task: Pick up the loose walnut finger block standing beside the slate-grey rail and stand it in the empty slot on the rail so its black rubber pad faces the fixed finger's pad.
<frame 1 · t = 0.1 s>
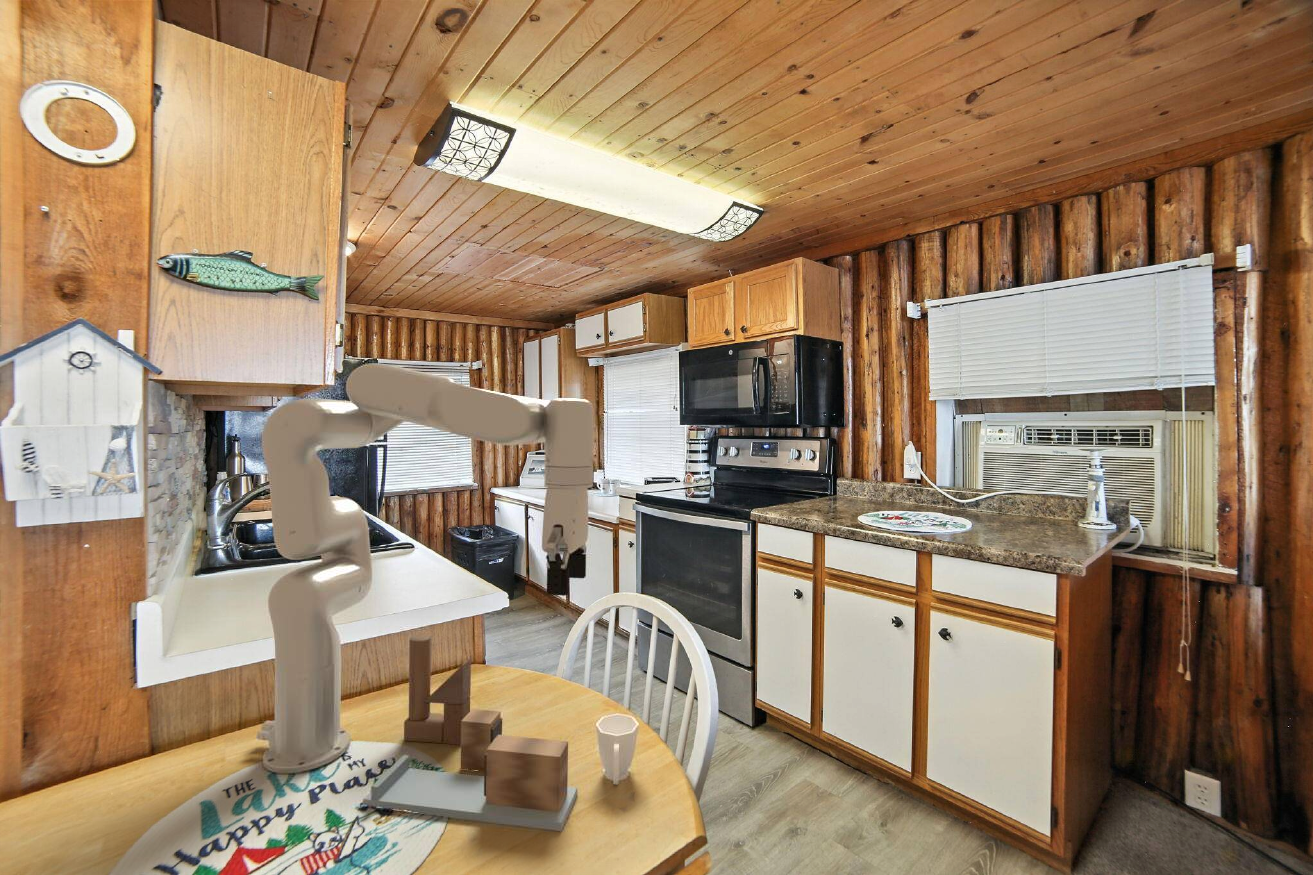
hand: (567, 585, 90), 31 cm above the table, tool pointing down, fingers open, 9 cm apart
finger block: (480, 763, 94), on the table
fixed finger: (527, 807, 84), resting on rail
rail: (472, 800, 85), on the table
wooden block: (437, 739, 102), on the table
cup: (616, 779, 91), on the table
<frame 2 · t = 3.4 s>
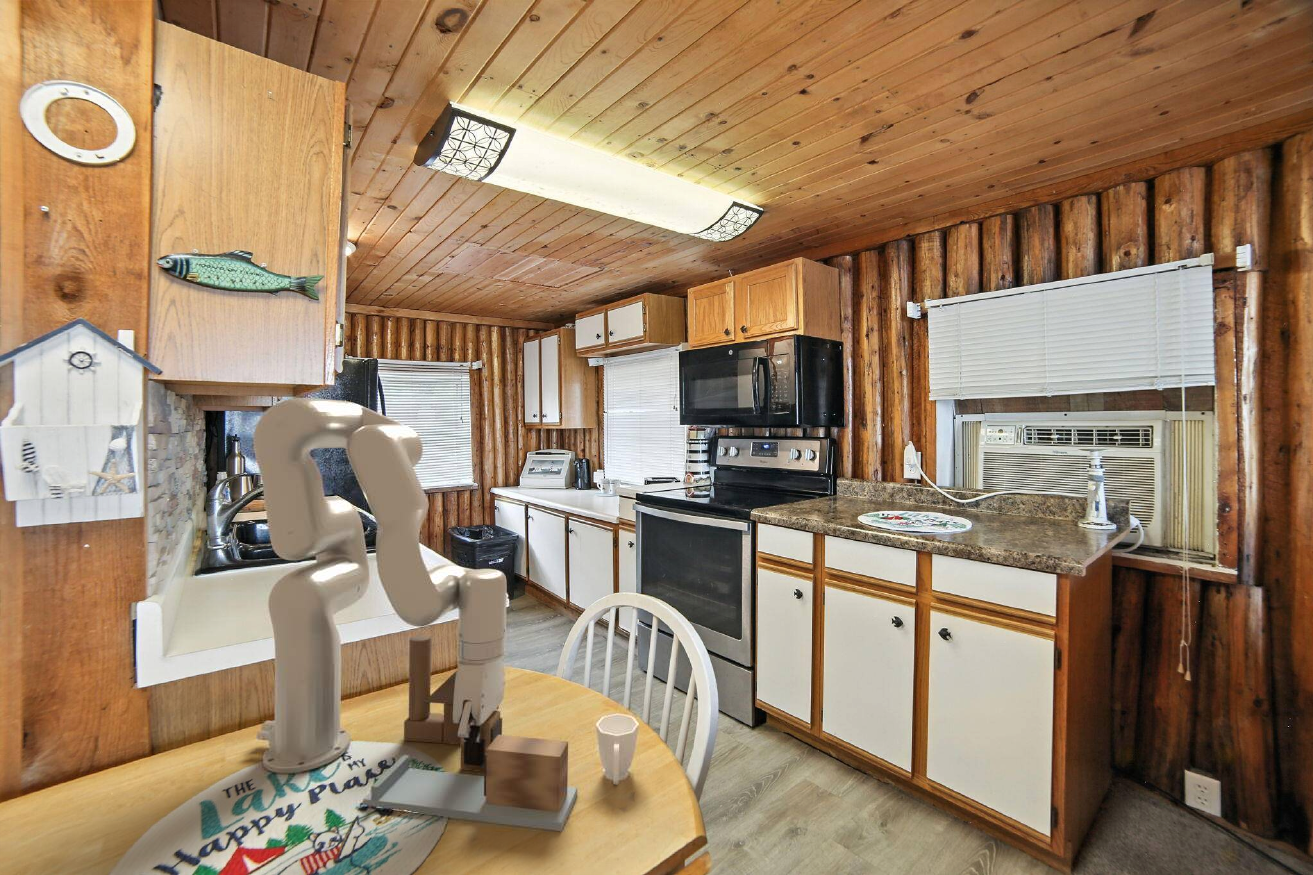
hand: (480, 754, 94), 1 cm above the table, tool pointing down, fingers closed on finger block, 4 cm apart
finger block: (480, 763, 94), on the table, touching gripper
everything else where it was.
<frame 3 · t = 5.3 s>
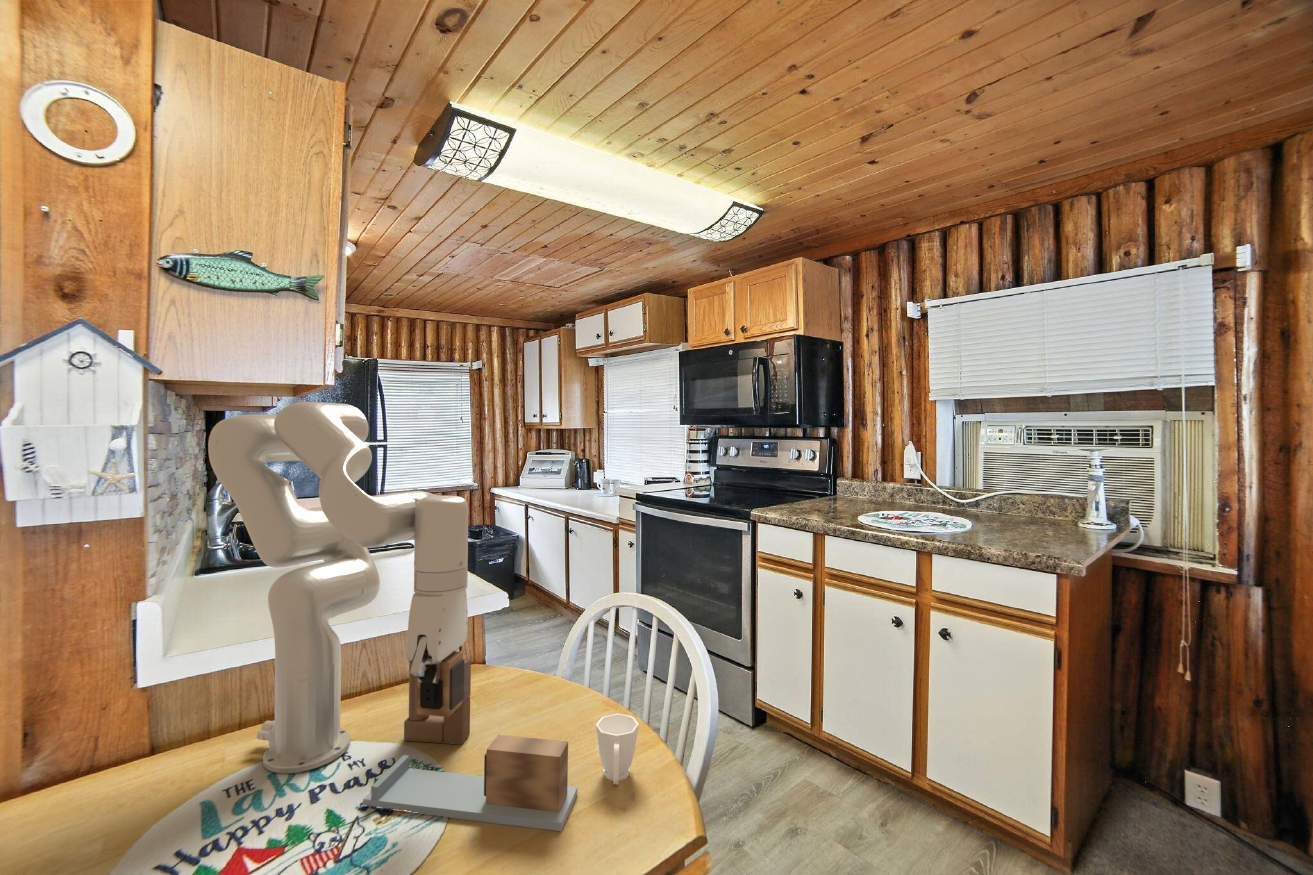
hand: (439, 698, 85), 15 cm above the table, tool pointing down, fingers closed on finger block, 4 cm apart
finger block: (439, 708, 85), point 13 cm above the table, touching gripper
everything else where it was.
when the fingers open (4 cm above the table, at t = 7.6 s): finger block stays where it is, resting on rail.
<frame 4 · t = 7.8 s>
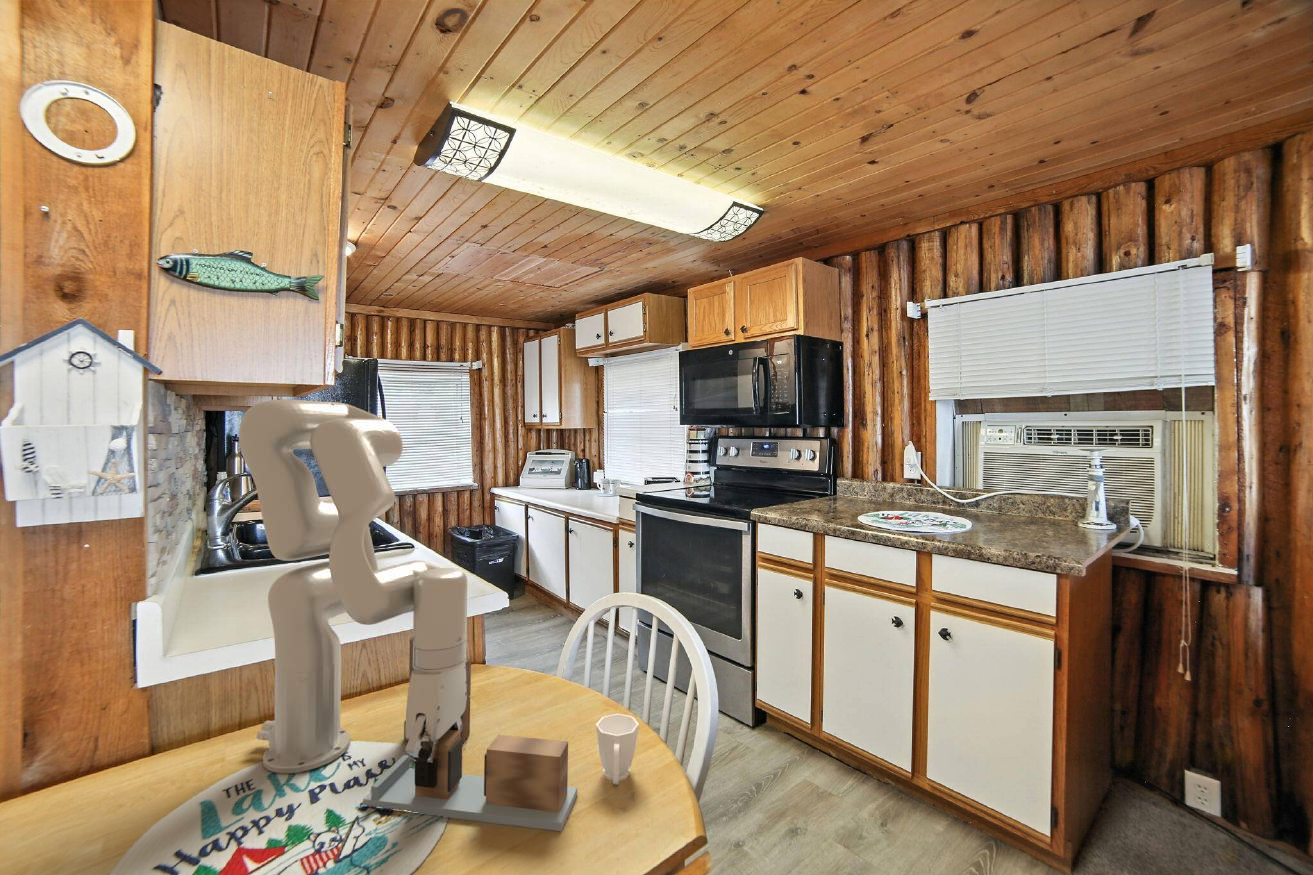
hand: (438, 770, 86), 4 cm above the table, tool pointing down, fingers open, 6 cm apart
finger block: (437, 788, 86), point 1 cm above the table, touching rail
everything else where it was.
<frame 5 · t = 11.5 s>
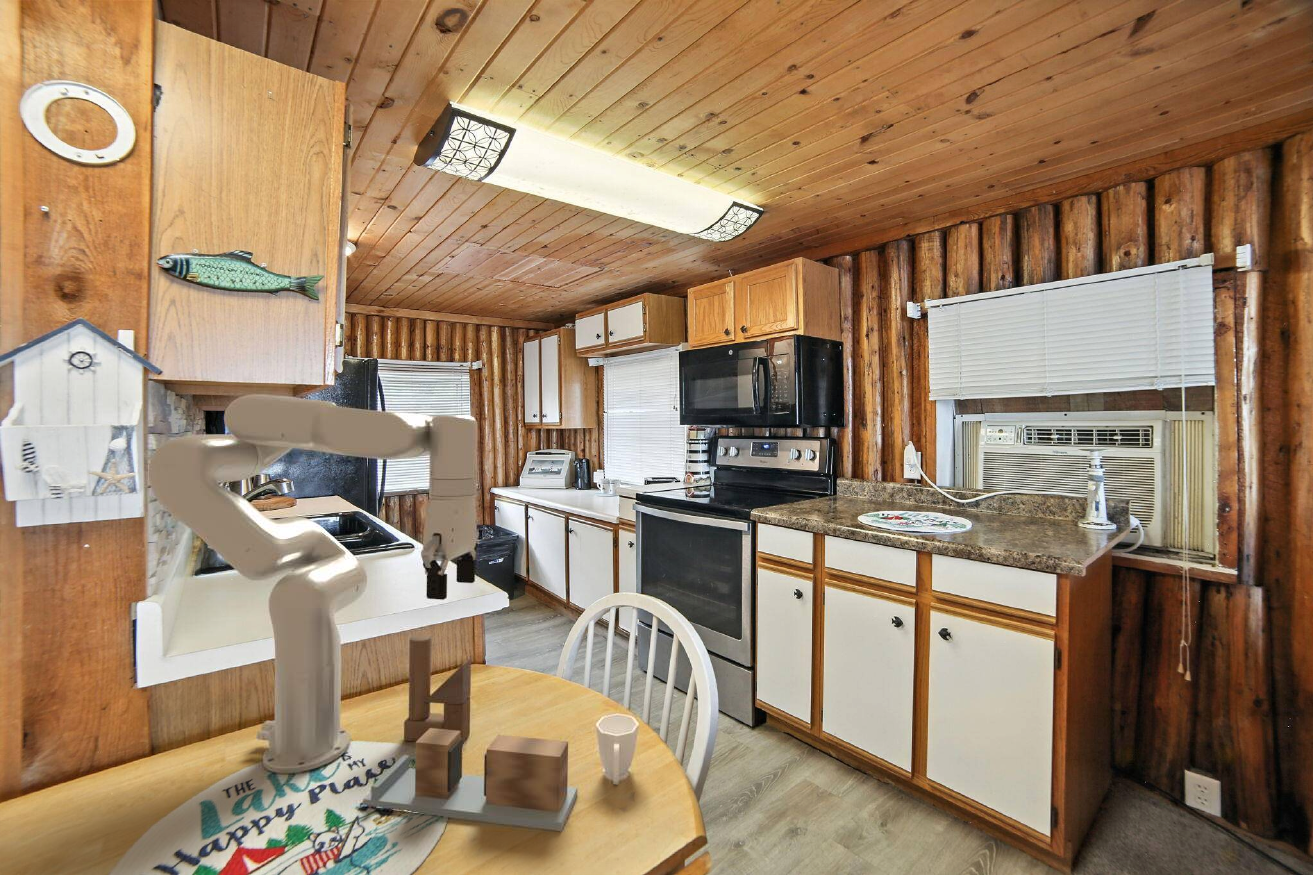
hand: (451, 590, 95), 28 cm above the table, tool pointing down, fingers open, 9 cm apart
nothing on the table moved.
at the end: finger block inside the target area (0.5 cm from its centre), point 1.2 cm above the table; finger block tilted 0°; the gripper is holding nothing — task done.
